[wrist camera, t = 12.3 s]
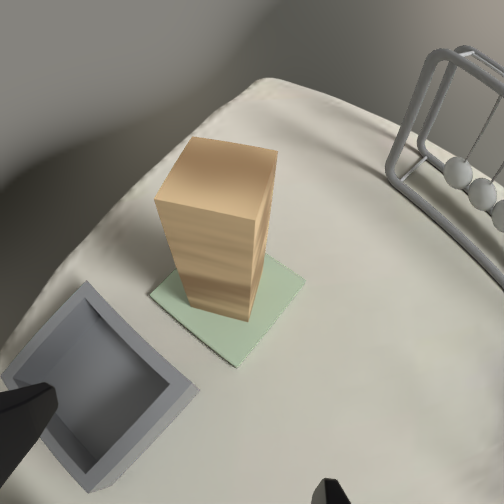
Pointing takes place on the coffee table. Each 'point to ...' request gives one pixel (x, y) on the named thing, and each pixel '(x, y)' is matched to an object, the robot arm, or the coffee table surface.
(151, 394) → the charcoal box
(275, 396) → the coffee table surface
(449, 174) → the newton's cradle
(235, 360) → the sage mat
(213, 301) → the oak post
